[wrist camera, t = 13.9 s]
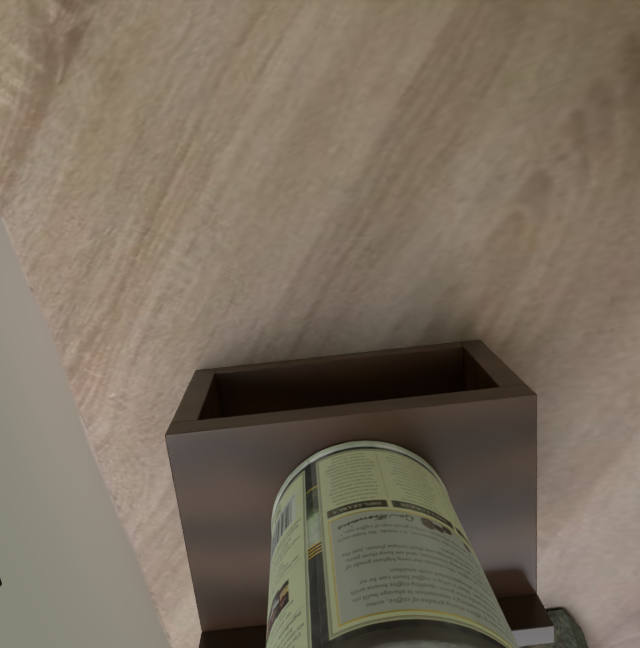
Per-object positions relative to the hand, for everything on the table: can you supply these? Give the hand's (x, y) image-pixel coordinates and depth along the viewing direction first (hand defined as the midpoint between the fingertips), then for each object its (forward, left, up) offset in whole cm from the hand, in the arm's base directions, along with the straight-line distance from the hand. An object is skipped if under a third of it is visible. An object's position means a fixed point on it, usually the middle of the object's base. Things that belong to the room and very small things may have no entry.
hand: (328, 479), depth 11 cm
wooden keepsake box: (+10, +11, -29) cm, 33 cm away
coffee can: (+9, +11, -19) cm, 24 cm away
